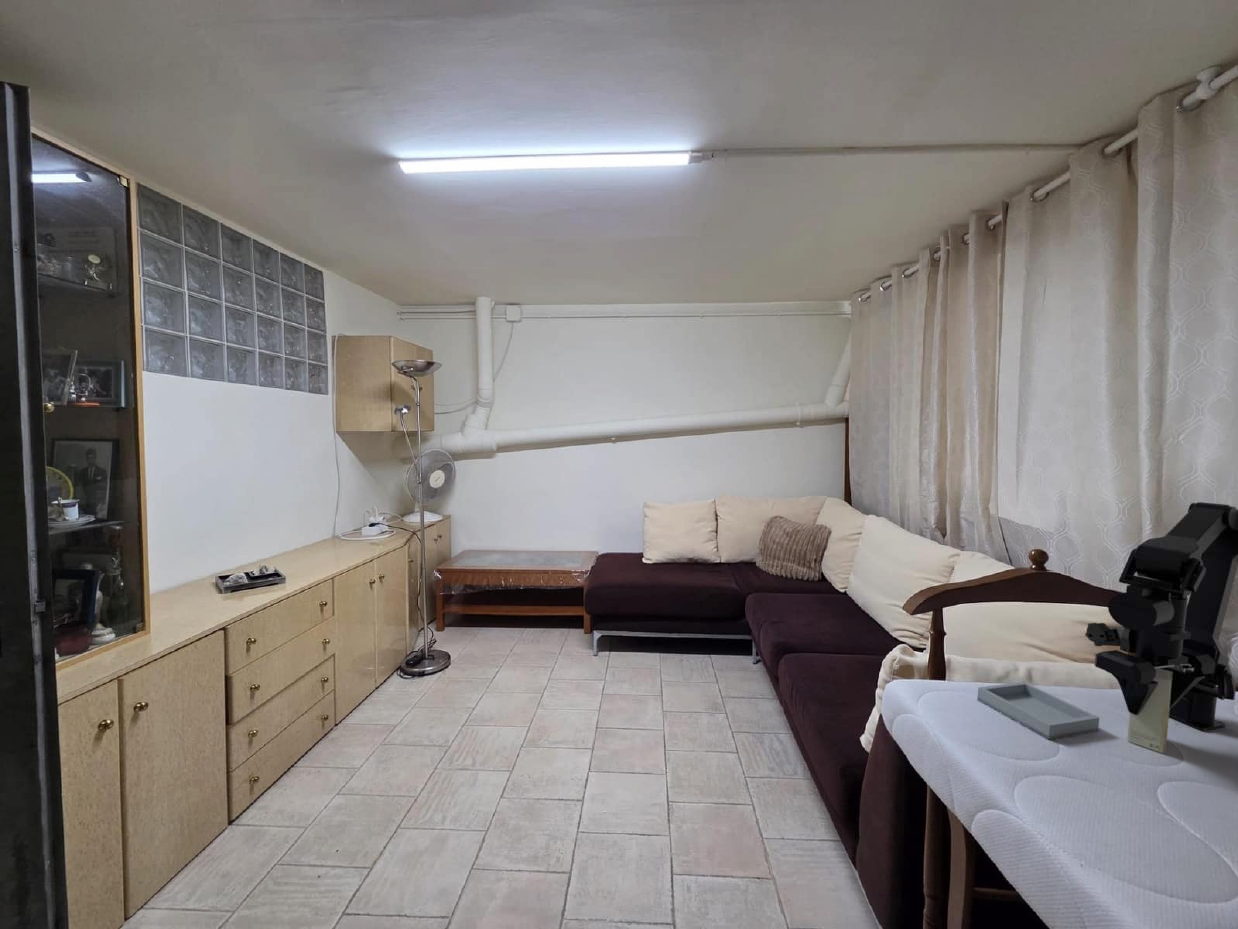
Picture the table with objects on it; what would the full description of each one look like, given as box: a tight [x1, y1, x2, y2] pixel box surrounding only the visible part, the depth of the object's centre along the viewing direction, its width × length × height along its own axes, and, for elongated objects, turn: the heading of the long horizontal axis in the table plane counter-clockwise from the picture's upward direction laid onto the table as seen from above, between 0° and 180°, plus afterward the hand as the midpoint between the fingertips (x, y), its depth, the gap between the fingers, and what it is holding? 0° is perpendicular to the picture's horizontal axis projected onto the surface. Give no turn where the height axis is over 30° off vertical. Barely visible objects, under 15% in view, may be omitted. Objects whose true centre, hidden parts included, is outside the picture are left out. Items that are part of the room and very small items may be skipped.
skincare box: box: [1126, 668, 1172, 754], centre depth 84 cm, size 6×4×12 cm
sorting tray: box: [976, 681, 1100, 740], centre depth 91 cm, size 12×13×2 cm
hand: (1149, 711), depth 84 cm, fingers open, 7 cm apart
